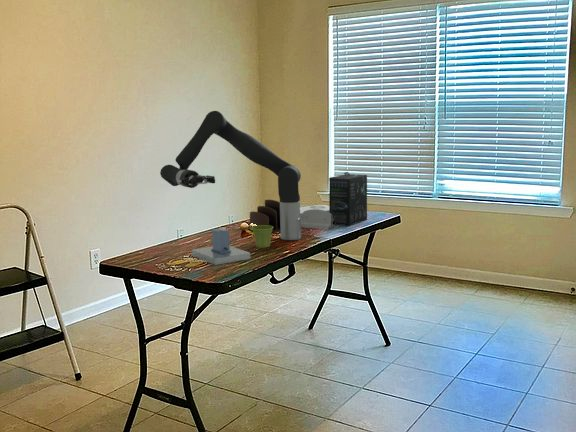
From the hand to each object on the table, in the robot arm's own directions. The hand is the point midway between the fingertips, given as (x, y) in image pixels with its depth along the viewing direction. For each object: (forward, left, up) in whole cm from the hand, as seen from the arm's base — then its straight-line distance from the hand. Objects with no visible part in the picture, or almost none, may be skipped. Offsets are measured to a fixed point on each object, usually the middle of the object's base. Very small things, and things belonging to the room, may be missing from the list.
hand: (205, 181), depth 263 cm
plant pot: (-21, -13, -30) cm, 39 cm away
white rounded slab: (-29, -86, -31) cm, 96 cm away
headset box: (-53, -75, -30) cm, 97 cm away
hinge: (-38, -60, -30) cm, 77 cm away
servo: (-8, +8, -30) cm, 32 cm away
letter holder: (-14, -54, -30) cm, 63 cm away
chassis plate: (-8, +8, -30) cm, 32 cm away
